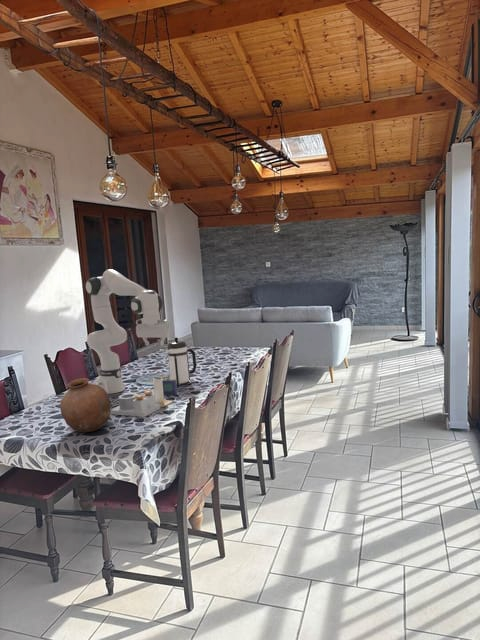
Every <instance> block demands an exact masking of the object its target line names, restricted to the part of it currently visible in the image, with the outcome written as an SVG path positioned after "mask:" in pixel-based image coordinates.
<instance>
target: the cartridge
mask: <svg viewBox="0 0 480 640" xmlns="http://www.w3.org/2000/svg"><path fill="white" fill-rule="evenodd" d="M162 380H163V377H161V376H156V375H154V376H153V379H152V381H153V382H152V385H153V392H154V393H153V394H155V399H156V404H159V405H161V404H164V400H165V395H164V394H163V382H162Z"/></svg>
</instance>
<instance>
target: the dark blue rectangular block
mask: <svg viewBox="0 0 480 640" xmlns="http://www.w3.org/2000/svg"><path fill="white" fill-rule="evenodd" d="M162 382H163V394H164V396H176V395H178V387H177V384H176V379H173V380H170V376H167V377H166V378H163V379H162Z"/></svg>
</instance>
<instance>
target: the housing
mask: <svg viewBox="0 0 480 640" xmlns="http://www.w3.org/2000/svg"><path fill="white" fill-rule="evenodd" d="M136 395H138V394H137V393H135V392H134V393H132V392H130V393H124V394H121V395H118V404H119V405H118V406H116V407H113V408H112V409H111V414H110V415H118V416H119V415H122V416H129V417H130V416H132V417H138V418H139V417H141V418H142V417H143V418H145V417H147V416H149V415H150V414H153V413H155V412H156V411H157V410H160V409H161V408H160V405H159V404H156V399H155V394H154V393H151V396H145V394H143V395H144V397H143V400H141V401H137V400H136V398H135V396H136Z"/></svg>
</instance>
